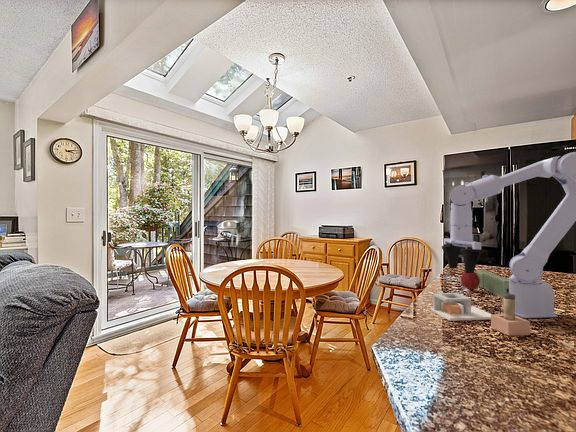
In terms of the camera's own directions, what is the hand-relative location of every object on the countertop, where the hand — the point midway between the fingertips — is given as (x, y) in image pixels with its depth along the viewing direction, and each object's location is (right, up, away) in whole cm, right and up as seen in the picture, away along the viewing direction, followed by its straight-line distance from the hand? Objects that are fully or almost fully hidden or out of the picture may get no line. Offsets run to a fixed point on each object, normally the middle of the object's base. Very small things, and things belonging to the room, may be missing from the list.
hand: (461, 270), depth 89 cm
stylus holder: (0, -10, -20) cm, 23 cm away
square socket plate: (-4, -10, -8) cm, 14 cm away
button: (-8, -10, -9) cm, 15 cm away
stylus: (-1, -10, -20) cm, 23 cm away
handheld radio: (+19, -11, +11) cm, 24 cm away
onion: (+13, -11, +17) cm, 24 cm away
